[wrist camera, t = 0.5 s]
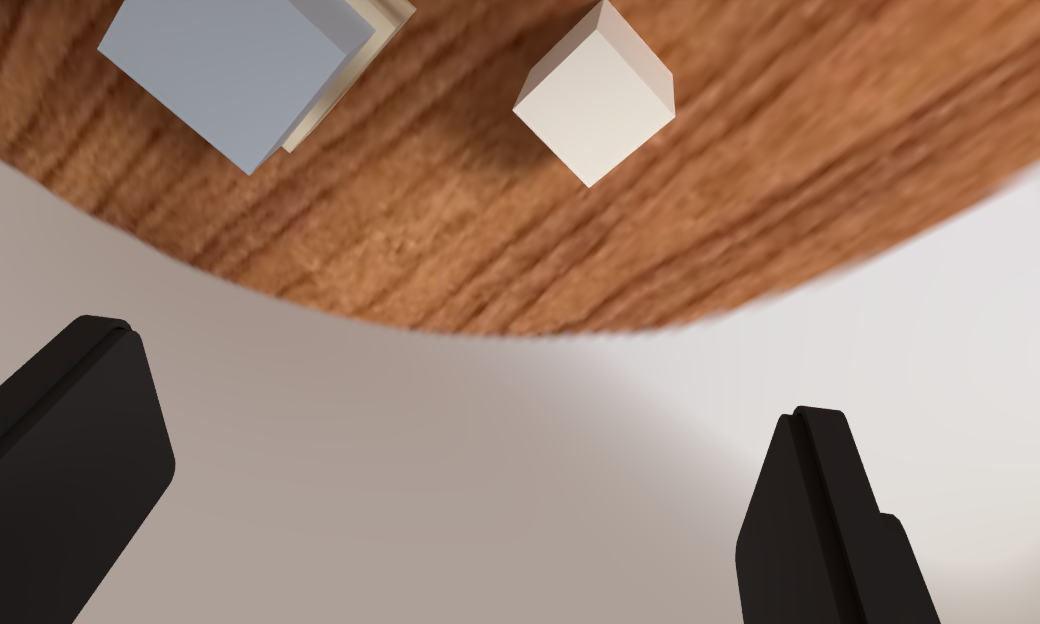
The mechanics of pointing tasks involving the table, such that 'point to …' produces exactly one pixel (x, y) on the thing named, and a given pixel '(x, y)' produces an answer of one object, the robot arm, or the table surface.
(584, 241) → the table surface
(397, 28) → the tower base
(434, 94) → the table surface
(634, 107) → the white block
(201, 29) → the tower top
